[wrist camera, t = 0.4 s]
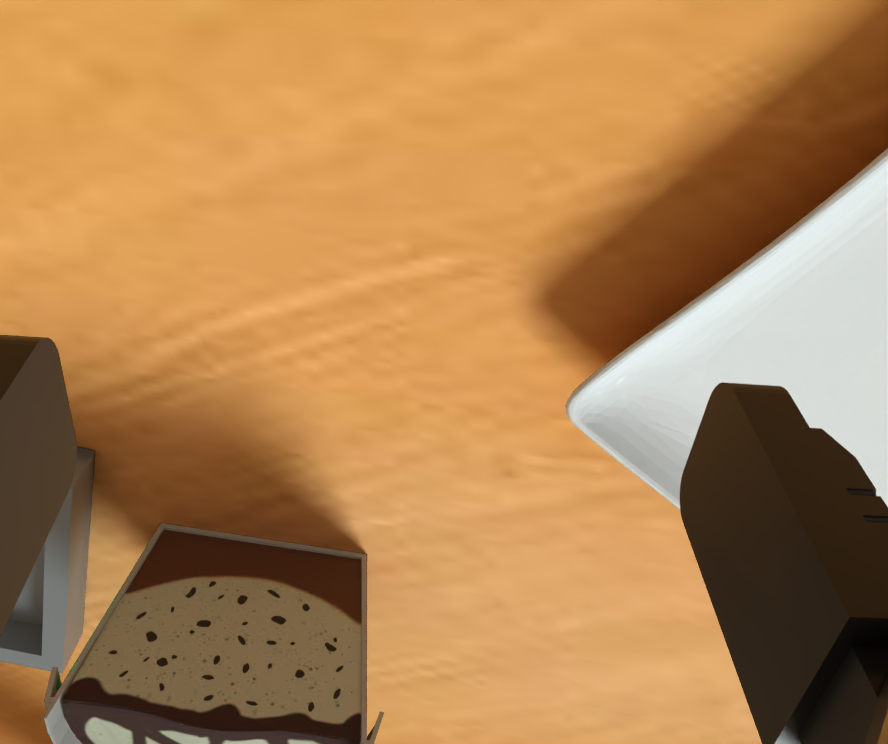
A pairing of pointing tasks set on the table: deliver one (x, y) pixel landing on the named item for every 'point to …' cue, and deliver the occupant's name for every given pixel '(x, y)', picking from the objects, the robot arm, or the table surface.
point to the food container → (223, 648)
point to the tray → (55, 584)
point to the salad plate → (764, 345)
